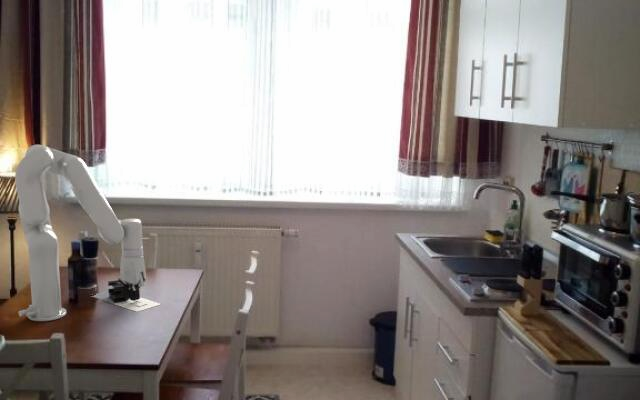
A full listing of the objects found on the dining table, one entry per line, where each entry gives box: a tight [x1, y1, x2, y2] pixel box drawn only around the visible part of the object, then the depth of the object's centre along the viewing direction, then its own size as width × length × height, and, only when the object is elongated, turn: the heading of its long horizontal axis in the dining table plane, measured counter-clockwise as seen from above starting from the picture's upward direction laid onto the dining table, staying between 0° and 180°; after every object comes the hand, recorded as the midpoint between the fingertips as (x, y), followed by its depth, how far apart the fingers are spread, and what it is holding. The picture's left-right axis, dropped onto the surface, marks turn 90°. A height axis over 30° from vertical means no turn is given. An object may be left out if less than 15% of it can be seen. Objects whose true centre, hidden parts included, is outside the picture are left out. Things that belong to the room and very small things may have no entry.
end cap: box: [107, 277, 130, 303], centre depth 255 cm, size 10×7×7 cm
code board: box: [114, 296, 162, 313], centre depth 249 cm, size 11×14×1 cm
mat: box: [91, 290, 130, 305], centre depth 258 cm, size 11×16×1 cm
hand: (135, 299), depth 250 cm, fingers closed
